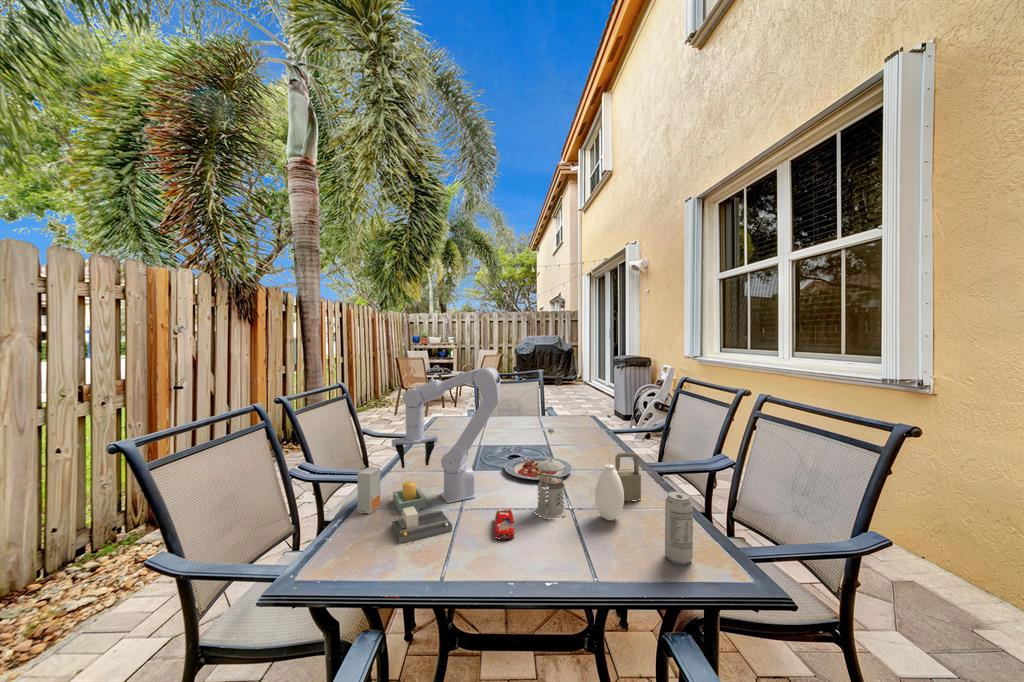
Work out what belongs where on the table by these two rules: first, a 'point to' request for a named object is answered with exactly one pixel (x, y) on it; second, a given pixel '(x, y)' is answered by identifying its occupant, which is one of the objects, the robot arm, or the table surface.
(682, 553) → the energy drink can
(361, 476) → the skincare box
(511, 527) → the race car
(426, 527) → the box
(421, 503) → the green rectangular tray
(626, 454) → the padlock
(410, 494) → the cap
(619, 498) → the sauce bottle
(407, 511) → the lever
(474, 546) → the table surface
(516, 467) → the ceramic plate
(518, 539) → the table surface
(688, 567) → the table surface
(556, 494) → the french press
